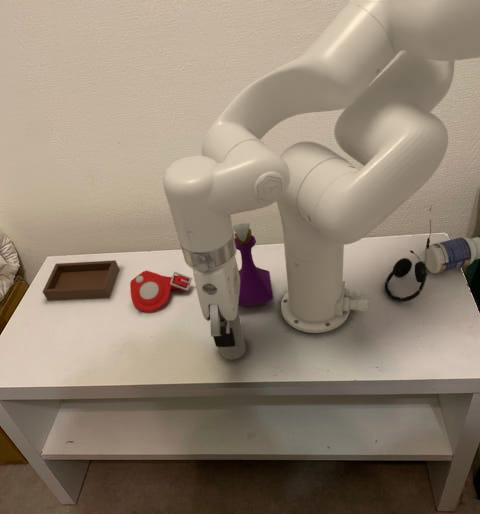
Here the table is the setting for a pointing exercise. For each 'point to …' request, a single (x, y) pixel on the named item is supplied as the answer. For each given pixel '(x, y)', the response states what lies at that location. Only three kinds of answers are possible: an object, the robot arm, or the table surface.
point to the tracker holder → (155, 289)
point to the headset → (403, 269)
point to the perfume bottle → (251, 272)
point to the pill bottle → (452, 254)
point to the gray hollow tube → (239, 346)
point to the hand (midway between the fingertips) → (227, 327)
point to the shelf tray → (81, 280)
